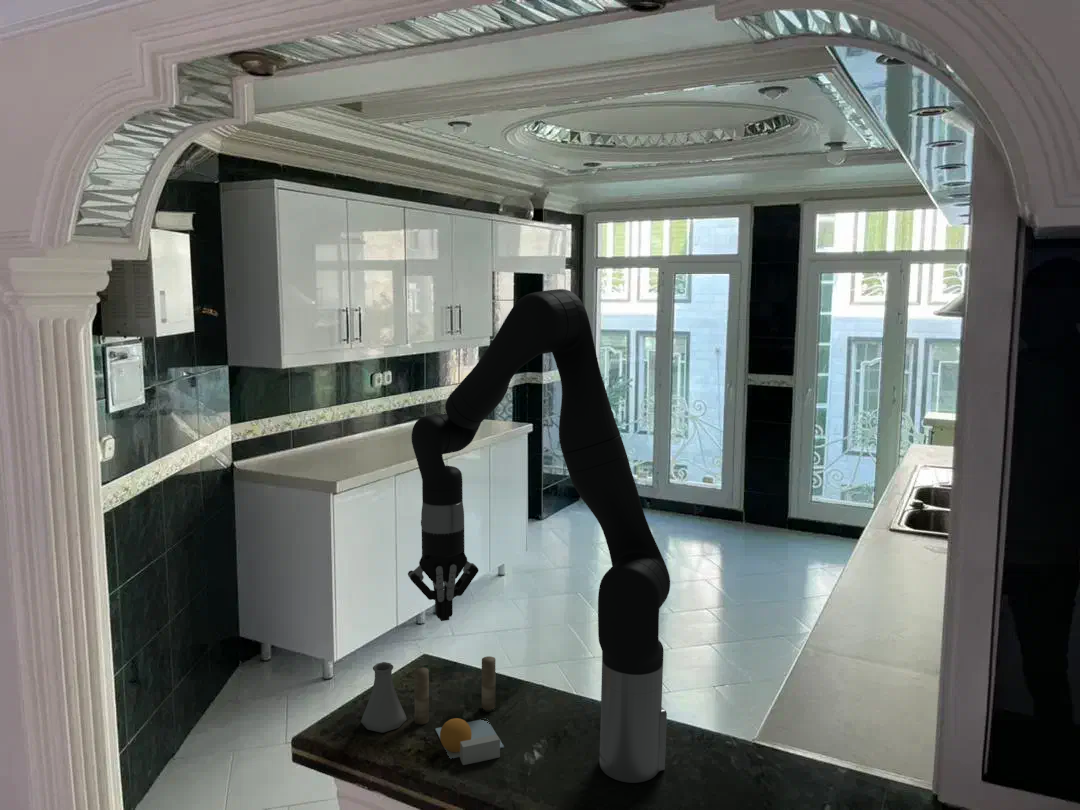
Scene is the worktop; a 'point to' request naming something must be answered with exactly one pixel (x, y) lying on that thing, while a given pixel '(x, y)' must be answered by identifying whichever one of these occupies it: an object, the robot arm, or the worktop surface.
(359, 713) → the worktop surface
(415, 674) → the outer post
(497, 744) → the block
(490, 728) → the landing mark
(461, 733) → the ball
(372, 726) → the flask
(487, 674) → the inner post
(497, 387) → the robot arm
